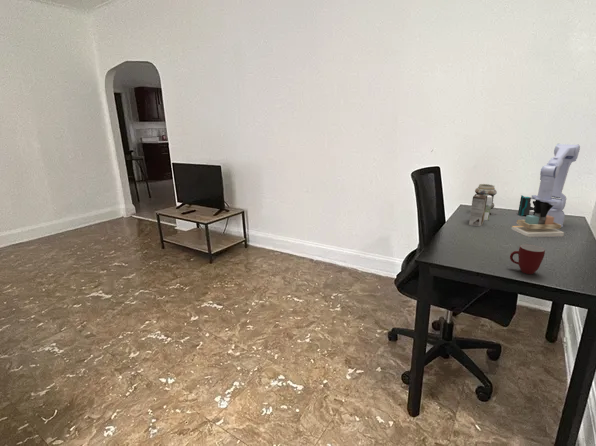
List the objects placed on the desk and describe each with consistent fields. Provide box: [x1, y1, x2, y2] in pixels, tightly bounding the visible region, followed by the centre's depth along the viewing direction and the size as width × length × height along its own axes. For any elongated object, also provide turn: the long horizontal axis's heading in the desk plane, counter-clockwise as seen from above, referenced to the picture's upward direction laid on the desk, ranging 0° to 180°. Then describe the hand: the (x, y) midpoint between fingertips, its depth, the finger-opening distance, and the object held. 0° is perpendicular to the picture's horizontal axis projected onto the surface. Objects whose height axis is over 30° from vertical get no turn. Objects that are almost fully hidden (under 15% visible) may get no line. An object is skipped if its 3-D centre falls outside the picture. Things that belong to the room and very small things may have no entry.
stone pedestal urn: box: [474, 183, 497, 216], centre depth 211 cm, size 12×12×18 cm
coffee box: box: [468, 193, 488, 227], centre depth 190 cm, size 9×6×16 cm
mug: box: [509, 244, 546, 275], centre depth 131 cm, size 10×8×10 cm
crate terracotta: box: [545, 215, 554, 225], centre depth 175 cm, size 4×4×4 cm
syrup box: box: [484, 195, 494, 221], centre depth 199 cm, size 6×6×14 cm
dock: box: [511, 225, 565, 238], centre depth 177 cm, size 19×12×2 cm, turn 94°
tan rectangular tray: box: [515, 213, 562, 230], centre depth 175 cm, size 17×9×6 cm, turn 94°
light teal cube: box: [524, 214, 539, 224], centre depth 175 cm, size 4×4×4 cm
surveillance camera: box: [517, 195, 535, 217], centre depth 206 cm, size 6×12×10 cm
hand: (540, 215), depth 174 cm, fingers closed on tan rectangular tray, 3 cm apart
